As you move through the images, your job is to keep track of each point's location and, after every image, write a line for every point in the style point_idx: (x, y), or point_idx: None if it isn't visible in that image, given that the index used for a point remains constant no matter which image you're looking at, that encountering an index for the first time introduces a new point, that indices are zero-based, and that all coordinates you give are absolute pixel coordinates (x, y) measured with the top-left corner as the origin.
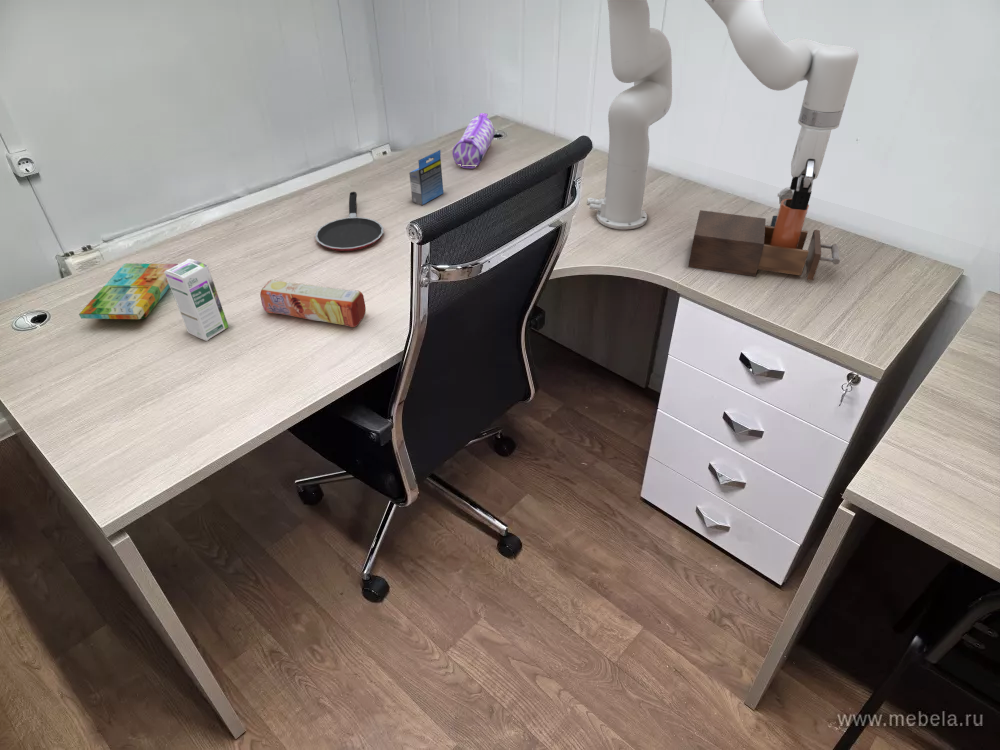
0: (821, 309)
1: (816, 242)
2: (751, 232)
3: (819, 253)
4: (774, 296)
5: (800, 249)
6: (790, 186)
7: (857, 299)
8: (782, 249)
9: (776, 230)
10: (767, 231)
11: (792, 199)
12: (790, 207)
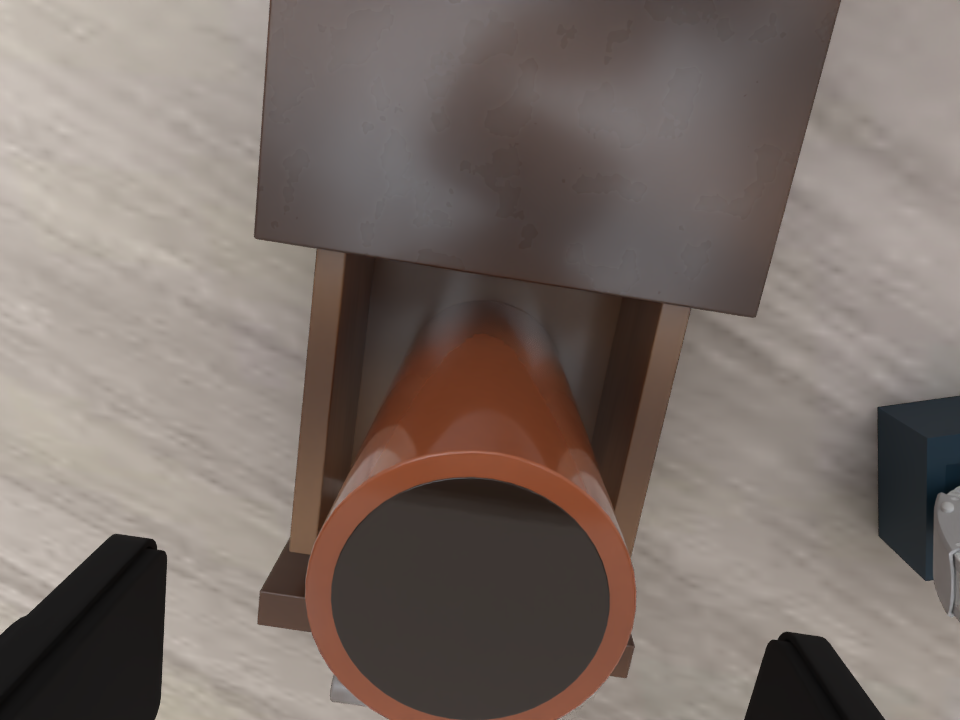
0: (72, 511)
1: None
2: (457, 152)
3: (269, 615)
4: (133, 298)
5: (315, 507)
6: (815, 648)
7: (215, 681)
8: (307, 385)
9: (429, 365)
10: (648, 322)
11: (40, 609)
12: (118, 537)
